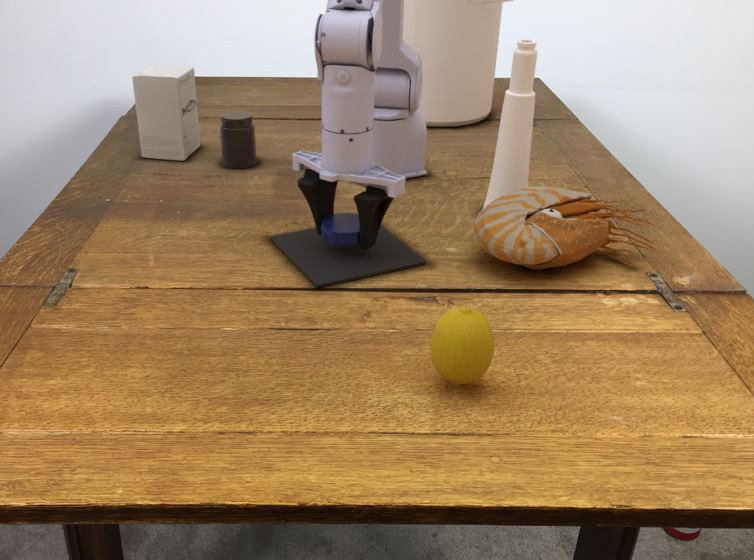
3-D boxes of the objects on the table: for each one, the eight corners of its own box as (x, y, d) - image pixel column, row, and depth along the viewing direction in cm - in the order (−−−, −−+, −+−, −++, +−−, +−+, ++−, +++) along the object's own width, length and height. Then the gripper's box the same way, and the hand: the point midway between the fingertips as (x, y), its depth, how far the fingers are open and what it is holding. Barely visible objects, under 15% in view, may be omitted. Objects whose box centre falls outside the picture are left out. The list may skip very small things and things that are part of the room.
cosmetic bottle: (512, 228, 100) (536, 49, 89) (472, 215, 104) (490, 41, 92) (536, 214, 104) (562, 41, 92) (497, 202, 108) (518, 34, 96)
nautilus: (645, 245, 98) (662, 309, 85) (472, 220, 100) (465, 279, 88) (664, 186, 93) (684, 244, 81) (482, 162, 96) (476, 215, 84)
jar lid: (367, 248, 90) (367, 234, 89) (317, 244, 91) (317, 230, 90) (373, 227, 95) (373, 214, 94) (325, 224, 96) (325, 211, 95)
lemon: (422, 368, 73) (428, 292, 69) (480, 365, 74) (490, 290, 69) (433, 403, 68) (440, 325, 64) (495, 400, 69) (506, 322, 65)
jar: (215, 164, 120) (211, 116, 116) (236, 155, 124) (233, 108, 120) (242, 171, 118) (240, 121, 114) (263, 161, 121) (261, 113, 117)
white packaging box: (185, 161, 121) (177, 77, 114) (140, 158, 122) (129, 74, 115) (202, 146, 127) (195, 66, 120) (159, 143, 128) (149, 63, 121)
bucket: (522, 109, 147) (542, -39, 134) (473, 140, 131) (490, -25, 118) (402, 89, 158) (409, -49, 145) (343, 115, 142) (345, -37, 129)
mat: (370, 220, 102) (370, 217, 102) (426, 264, 92) (426, 261, 91) (269, 239, 97) (269, 236, 97) (316, 288, 86) (316, 285, 86)
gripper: (273, 122, 87) (277, 234, 94) (381, 148, 80) (376, 268, 87) (313, 108, 92) (314, 216, 99) (418, 132, 85) (411, 246, 92)
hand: (345, 239), depth 93 cm, fingers closed on jar lid, 6 cm apart
